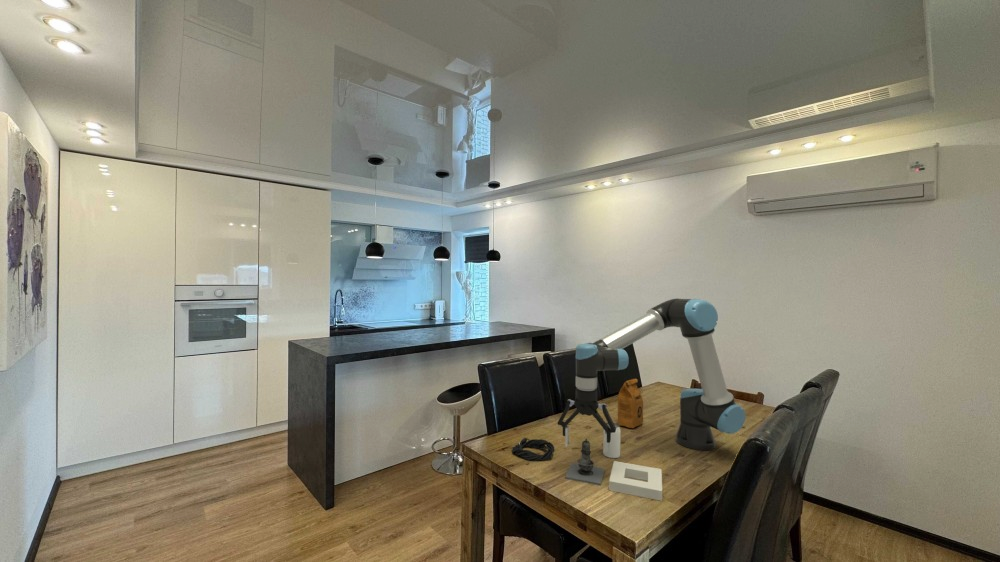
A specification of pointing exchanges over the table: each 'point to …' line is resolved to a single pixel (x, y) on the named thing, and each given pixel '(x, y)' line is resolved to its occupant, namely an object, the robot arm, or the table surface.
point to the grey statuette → (585, 460)
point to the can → (613, 443)
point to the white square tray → (636, 487)
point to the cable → (537, 445)
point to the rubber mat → (592, 479)
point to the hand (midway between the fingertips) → (586, 448)
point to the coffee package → (630, 405)
